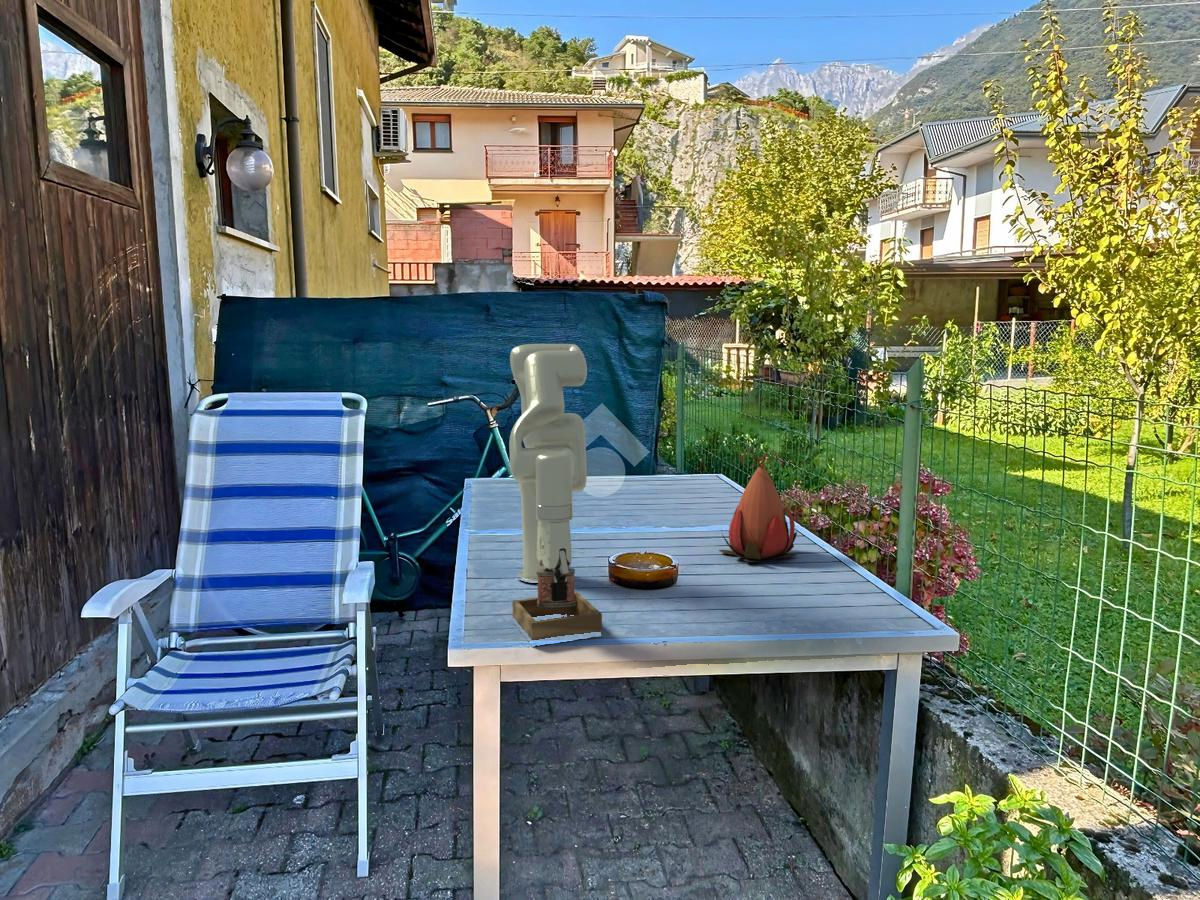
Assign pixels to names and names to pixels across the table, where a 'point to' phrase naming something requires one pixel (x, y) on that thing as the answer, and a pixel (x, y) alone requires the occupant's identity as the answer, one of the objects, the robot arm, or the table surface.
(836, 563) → the table surface
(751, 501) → the decorative flower
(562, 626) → the walled box
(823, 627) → the table surface
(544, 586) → the lighter
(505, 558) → the table surface
